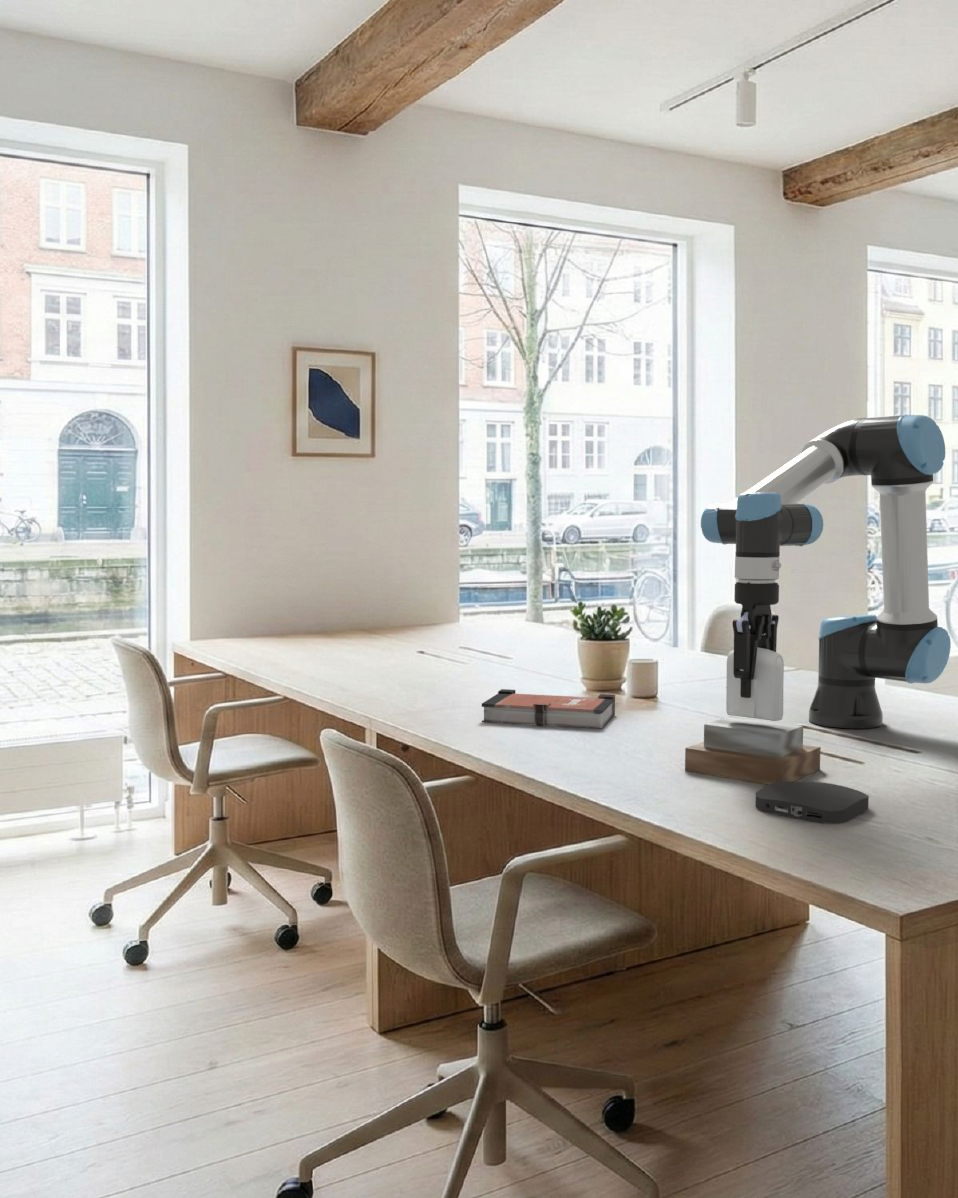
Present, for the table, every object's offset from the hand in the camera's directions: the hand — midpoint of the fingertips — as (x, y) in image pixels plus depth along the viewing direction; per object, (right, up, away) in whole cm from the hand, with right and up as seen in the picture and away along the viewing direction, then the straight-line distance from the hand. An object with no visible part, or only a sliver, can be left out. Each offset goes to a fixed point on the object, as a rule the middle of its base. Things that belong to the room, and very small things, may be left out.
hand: (754, 713), depth 195 cm
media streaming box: (+3, -13, -24) cm, 27 cm away
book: (-33, -7, +48) cm, 59 cm away
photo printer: (0, -1, 0) cm, 1 cm away
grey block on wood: (0, -10, +1) cm, 10 cm away
